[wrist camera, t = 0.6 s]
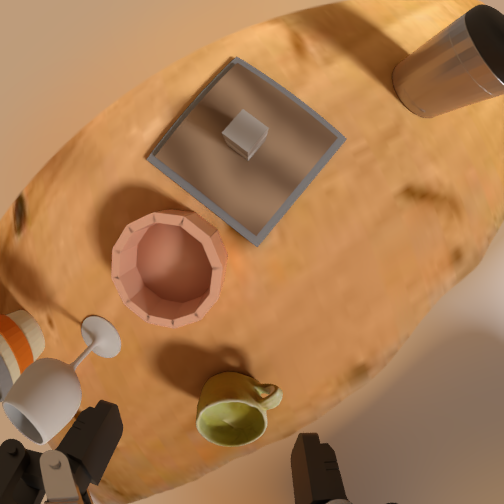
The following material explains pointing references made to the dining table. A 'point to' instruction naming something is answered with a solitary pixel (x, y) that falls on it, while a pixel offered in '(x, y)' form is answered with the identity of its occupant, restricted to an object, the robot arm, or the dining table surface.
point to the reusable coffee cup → (17, 347)
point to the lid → (246, 147)
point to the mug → (234, 409)
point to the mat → (210, 204)
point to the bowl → (169, 267)
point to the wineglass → (56, 386)
